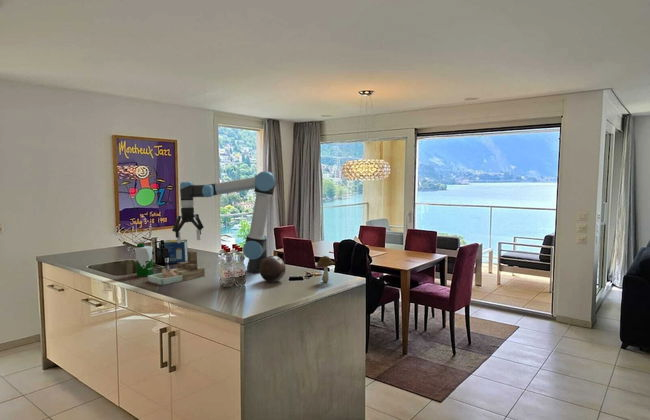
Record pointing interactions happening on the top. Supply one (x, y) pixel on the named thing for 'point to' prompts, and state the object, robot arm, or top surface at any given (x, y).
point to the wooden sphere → (272, 268)
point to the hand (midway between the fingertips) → (188, 241)
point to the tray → (160, 281)
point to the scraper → (189, 261)
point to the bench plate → (189, 273)
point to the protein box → (176, 250)
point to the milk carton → (144, 260)
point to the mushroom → (325, 266)
